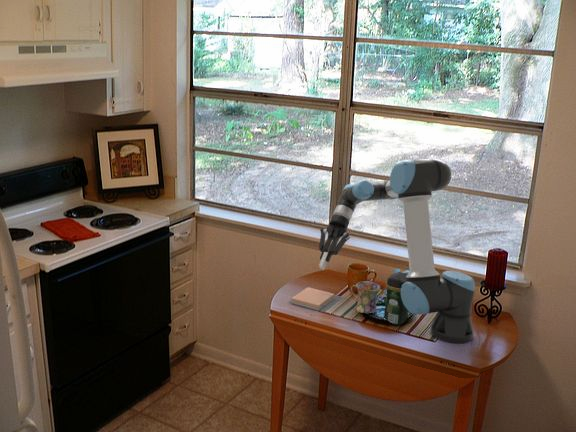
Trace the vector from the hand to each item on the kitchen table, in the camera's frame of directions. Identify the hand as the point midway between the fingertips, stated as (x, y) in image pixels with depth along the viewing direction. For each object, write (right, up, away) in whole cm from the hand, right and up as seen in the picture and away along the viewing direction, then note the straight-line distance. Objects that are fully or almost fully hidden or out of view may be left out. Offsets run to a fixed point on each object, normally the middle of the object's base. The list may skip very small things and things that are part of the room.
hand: (321, 267), depth 262 cm
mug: (+16, -16, -6) cm, 24 cm away
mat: (-2, -14, 0) cm, 14 cm away
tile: (0, -11, +4) cm, 11 cm away
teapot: (+34, -13, +8) cm, 38 cm away
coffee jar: (+27, -19, -14) cm, 36 cm away
